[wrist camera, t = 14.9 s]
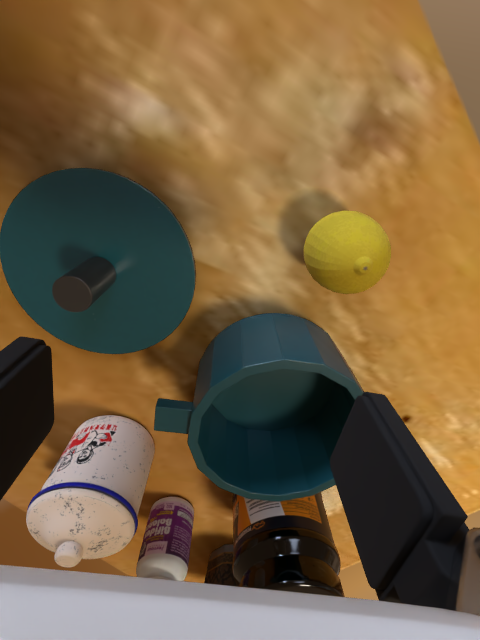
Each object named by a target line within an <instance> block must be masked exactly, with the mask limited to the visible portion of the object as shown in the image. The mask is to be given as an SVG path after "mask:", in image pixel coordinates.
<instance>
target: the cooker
mask: <svg viewBox="0 0 480 640" xmlns="http://www.w3.org/2000/svg"><path fill="white" fill-rule="evenodd" d="M363 393H364V391H363V389H362V388H361V386H360V384H359V382H358V381H357V379H356V377H355V376H354V374H353V372H352V371H351V369H350V367H349V366H348V364H347V362H346V361H345V359H344V357H343V356H342V354H341V352H340V351H339V349H338V348H337V347H336V345H335V344H334V342H333V340H332V339H331V338H330V336H329V335H328V333H326V332H325V331H323V330H322V329H321V328H320V327H318V326H317V325H315V324H314V323H312V322H310V321H308V320H306V319H303V318H300V317H298V316H294V315H289V314H281V313H266V314H259V315H254V316H251V317H247V318H244V319H242V320H239V321H237V322H235V323H233V324H232V325H230V326H228V327H227V328H225V329H224V330H223V331H221V332H220V333H219V334H218V335H217V336H216V337H215V338H214V339H213V340H212V341H211V343H210V344H209V345H208V347H207V349H206V350H205V352H204V354H203V356H202V358H201V359H200V363H199V369H198V375H197V382H196V388H195V394H194V400H193V402H187V401H178V400H170V399H161V398H158V401H157V404H156V409H155V423H154V430H156V431H165V432H175V433H184V434H188V446H189V448H190V450H191V453H192V455H193V458H194V460H195V463H196V465H197V468H198V469H199V470H200V471H201V472H202V473H203V474H205V475H206V476H207V477H208V478H209V479H210V480H211V481H212V482H213V483H215V484H216V485H217V486H218V487H219V488H222V489H224V490H227V491H229V492H232V493H234V494H237V495H239V496H242V497H244V498H248V499H255V500H267V501H278V502H279V501H286V500H291V499H297V498H303V497H309V496H313V495H315V494H317V493H319V492H321V491H324V490H326V489H328V488H330V487H332V486H334V485H336V483H335V480H334V477H333V474H332V471H331V467H330V459H331V455H332V453H333V451H334V448H335V446H336V444H337V441H338V439H339V437H340V434H341V432H342V430H343V427H344V425H345V423H346V421H347V418H348V416H349V414H350V411H351V409H352V407H353V404H354V402H355V400H356V398H357V397H358V396H362V394H363Z"/></svg>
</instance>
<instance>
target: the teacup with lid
mask: <svg viewBox="0 0 480 640" xmlns="http://www.w3.org/2000/svg"><path fill="white" fill-rule="evenodd" d="M154 452H155V446H154V442H153V439H152V437H151V435H150V434H149V433H148V431H147V430H146V429H145V428H144V427H143V426H141V425H140V424H138V423H137V422H135V421H133V420H131V419H128V418H125V417H121V416H115V415H104V416H98V417H94V418H92V419H89V420H87V421H86V422H84V423H83V424H82V425H80V427H79V428H78V429H77V430H76V432H75V433H74V435H73V437H72V439H71V440H70V442H69V444H68V445H67V447H66V449H65V450H64V452H63V454H62V455H61V457H60V459H59V460H58V462H57V464H56V465H55V467H54V469H53V471H52V472H51V474H50V476H49V477H48V479H47V481H46V482H45V484H44V486H43V487H42V489H41V491H40V492H39V493H37V494H36V495H35V496H34V497H33V499H32V500H31V502H30V504H29V506H28V511H27V516H26V521H27V527H28V530H29V532H30V534H31V535H32V536H33V538H34V539H35V540H36V541H37V542H38V543H39V544H41V545H42V546H43V547H45V548H47V549H48V550H50V551H53V552H55V557H54V558H55V561H56V563H57V564H58V565H60V566H63V567H73V566H75V565H77V564H78V563H79V562H80V561H81V559H96V558H103V557H107V556H110V555H112V554H115V553H117V552H119V551H120V550H122V549H123V548H124V547H125V546H126V545H127V544H128V543H129V542H130V541H131V539H132V537H133V536H134V534H135V532H136V530H137V526H138V519H137V516H138V512H139V508H140V505H141V501H142V497H143V494H144V490H145V486H146V483H147V479H148V475H149V472H150V468H151V464H152V461H153V457H154Z"/></svg>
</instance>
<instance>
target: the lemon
mask: <svg viewBox="0 0 480 640" xmlns="http://www.w3.org/2000/svg"><path fill="white" fill-rule="evenodd" d="M390 258H391V247H390V243H389V240H388V237H387V235H386V233H385V232H384V230H383V229H382V227H381V226H380V225H379V224H378V223H377V222H376V221H374V220H373V219H372V218H371V217H369V216H367V215H365V214H362V213H359V212H356V211H340V212H335V213H332V214H329V215H327V216H325V217H323V218H322V219H321V220H320V221H318V222H317V223H316V224H315V225H314V226H313V227H312V229H311V230H310V232H309V234H308V236H307V238H306V240H305V245H304V260H305V264H306V267H307V270H308V271H309V273H310V274H311V276H312V277H313V279H314V280H315V281H317V282H318V283H319V284H320V285H321V286H323V287H325V288H327V289H329V290H331V291H333V292H337V293H343V294H354V293H359V292H362V291H365V290H367V289H369V288H371V287H372V286H374V285H375V284H376V283H377V282H378V281H379V280H380V279H381V278H382V277H383V275H384V274H385V272H386V270H387V268H388V266H389V263H390Z"/></svg>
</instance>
